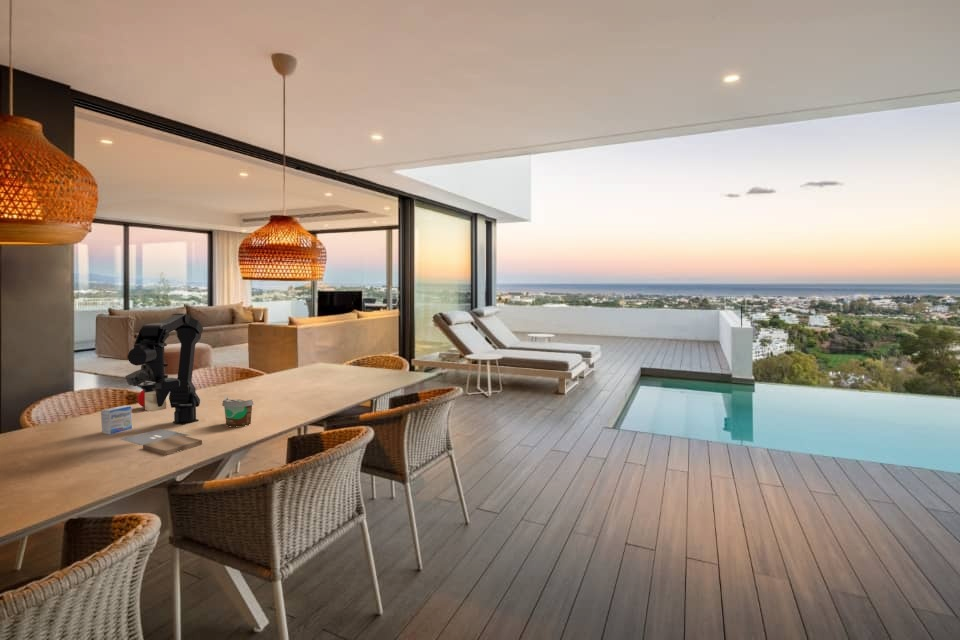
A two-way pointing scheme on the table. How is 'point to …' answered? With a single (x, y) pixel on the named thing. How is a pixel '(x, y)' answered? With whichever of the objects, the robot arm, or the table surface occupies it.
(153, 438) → the tile
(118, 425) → the medicine box
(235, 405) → the food container
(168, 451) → the walnut board
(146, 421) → the table surface
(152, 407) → the maple block
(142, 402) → the ornament
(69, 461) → the table surface
